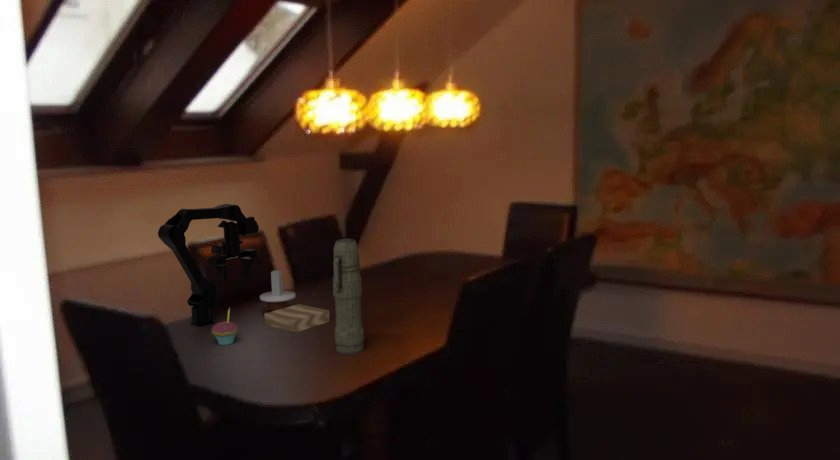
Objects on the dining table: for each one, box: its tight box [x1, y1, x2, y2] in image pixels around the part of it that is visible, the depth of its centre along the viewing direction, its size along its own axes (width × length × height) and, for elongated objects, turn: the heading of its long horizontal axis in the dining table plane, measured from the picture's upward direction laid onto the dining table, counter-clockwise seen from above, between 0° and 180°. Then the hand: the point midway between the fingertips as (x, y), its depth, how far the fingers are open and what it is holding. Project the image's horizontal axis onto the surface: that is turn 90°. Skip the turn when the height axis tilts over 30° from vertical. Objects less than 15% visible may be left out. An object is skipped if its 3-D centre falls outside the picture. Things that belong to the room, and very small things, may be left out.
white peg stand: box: [259, 269, 296, 303], centre depth 274 cm, size 13×13×10 cm
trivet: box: [263, 303, 330, 333], centre depth 262 cm, size 16×16×4 cm
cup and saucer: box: [261, 300, 293, 315], centre depth 276 cm, size 12×12×6 cm
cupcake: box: [211, 307, 240, 346], centre depth 241 cm, size 9×8×12 cm
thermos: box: [332, 238, 365, 355], centre depth 230 cm, size 9×12×35 cm
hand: (234, 279), depth 275 cm, fingers open, 9 cm apart
